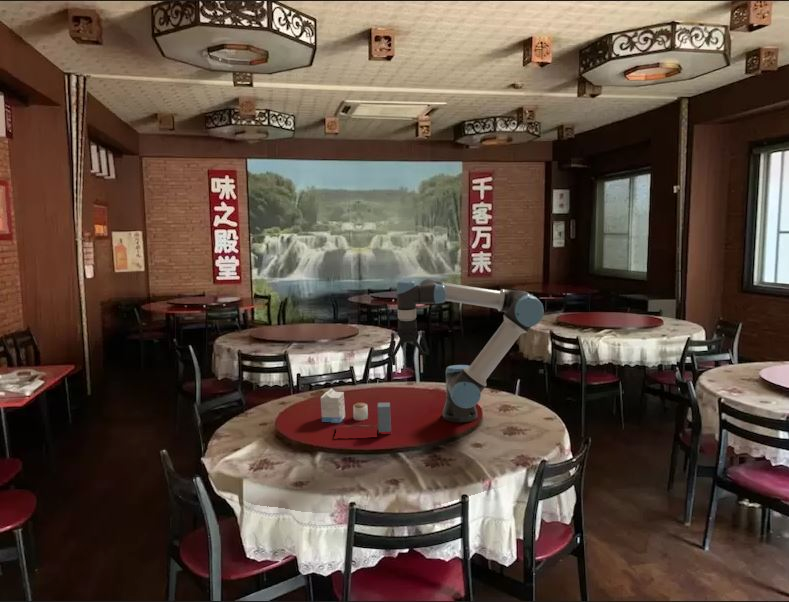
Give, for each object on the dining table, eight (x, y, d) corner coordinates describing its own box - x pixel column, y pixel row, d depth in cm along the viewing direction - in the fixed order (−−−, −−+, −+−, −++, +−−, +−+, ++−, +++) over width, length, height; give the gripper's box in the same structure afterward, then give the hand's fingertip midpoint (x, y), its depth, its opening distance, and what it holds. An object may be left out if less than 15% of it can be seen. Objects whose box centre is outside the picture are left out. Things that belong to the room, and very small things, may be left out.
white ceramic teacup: (368, 414, 267) (367, 401, 266) (367, 420, 261) (367, 406, 260) (354, 415, 267) (353, 402, 266) (353, 420, 261) (352, 407, 260)
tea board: (378, 426, 253) (378, 424, 253) (377, 438, 241) (377, 435, 241) (336, 428, 253) (336, 426, 253) (333, 439, 241) (333, 437, 241)
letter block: (390, 429, 250) (389, 402, 247) (390, 434, 245) (389, 406, 242) (379, 429, 250) (377, 402, 247) (378, 434, 245) (377, 407, 242)
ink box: (340, 423, 258) (338, 394, 255) (321, 422, 260) (319, 393, 257) (345, 416, 266) (344, 387, 264) (327, 415, 268) (326, 387, 265)
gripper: (434, 315, 242) (435, 368, 246) (379, 318, 242) (382, 370, 246) (435, 319, 235) (437, 373, 239) (379, 322, 235) (381, 375, 239)
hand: (409, 372), depth 242 cm, fingers open, 10 cm apart
